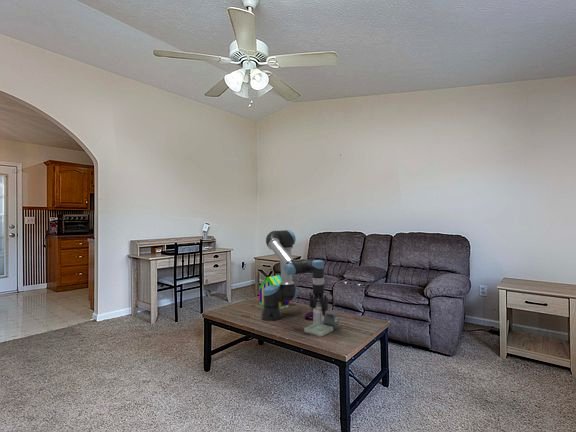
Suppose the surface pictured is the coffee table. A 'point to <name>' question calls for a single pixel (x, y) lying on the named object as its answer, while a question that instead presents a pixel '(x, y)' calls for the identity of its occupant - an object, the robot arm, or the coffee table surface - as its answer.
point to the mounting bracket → (311, 314)
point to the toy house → (269, 281)
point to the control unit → (331, 319)
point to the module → (317, 316)
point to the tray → (318, 329)
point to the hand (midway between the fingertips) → (318, 319)
